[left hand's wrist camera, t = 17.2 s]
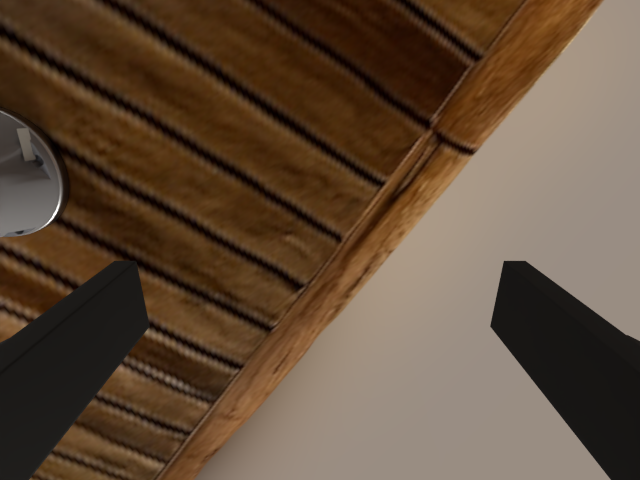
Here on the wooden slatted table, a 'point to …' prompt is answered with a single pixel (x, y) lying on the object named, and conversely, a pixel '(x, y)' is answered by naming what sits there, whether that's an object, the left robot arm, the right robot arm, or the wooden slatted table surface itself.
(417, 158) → the wooden slatted table surface
